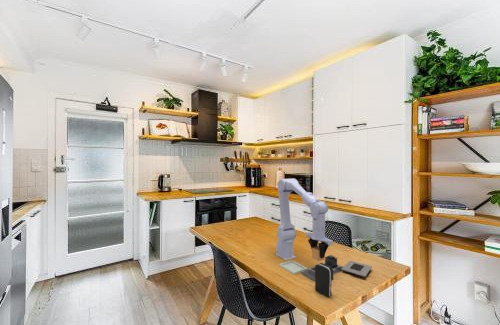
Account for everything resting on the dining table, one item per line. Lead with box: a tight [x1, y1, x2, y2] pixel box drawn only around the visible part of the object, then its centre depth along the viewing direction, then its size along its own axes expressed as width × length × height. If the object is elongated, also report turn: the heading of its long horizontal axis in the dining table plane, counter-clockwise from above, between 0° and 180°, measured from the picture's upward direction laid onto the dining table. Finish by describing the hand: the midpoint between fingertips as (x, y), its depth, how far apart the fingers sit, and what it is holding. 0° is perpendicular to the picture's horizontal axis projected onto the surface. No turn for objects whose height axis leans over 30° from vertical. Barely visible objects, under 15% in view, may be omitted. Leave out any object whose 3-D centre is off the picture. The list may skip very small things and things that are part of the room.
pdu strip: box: [301, 254, 344, 282], centre depth 113 cm, size 22×8×7 cm, turn 122°
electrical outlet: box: [341, 260, 373, 278], centre depth 114 cm, size 13×10×2 cm
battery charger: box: [314, 262, 334, 298], centre depth 95 cm, size 7×4×11 cm, turn 37°
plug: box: [311, 245, 325, 262], centre depth 111 cm, size 4×4×6 cm
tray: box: [278, 259, 308, 275], centre depth 117 cm, size 11×9×1 cm
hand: (318, 255), depth 111 cm, fingers closed on plug, 4 cm apart
